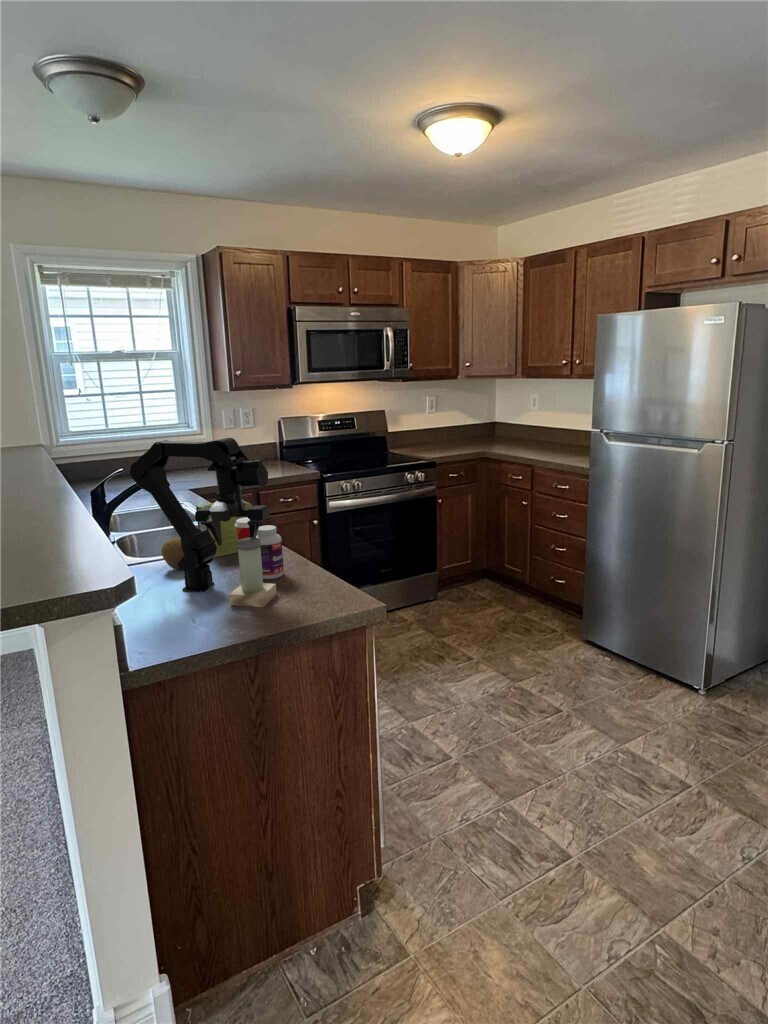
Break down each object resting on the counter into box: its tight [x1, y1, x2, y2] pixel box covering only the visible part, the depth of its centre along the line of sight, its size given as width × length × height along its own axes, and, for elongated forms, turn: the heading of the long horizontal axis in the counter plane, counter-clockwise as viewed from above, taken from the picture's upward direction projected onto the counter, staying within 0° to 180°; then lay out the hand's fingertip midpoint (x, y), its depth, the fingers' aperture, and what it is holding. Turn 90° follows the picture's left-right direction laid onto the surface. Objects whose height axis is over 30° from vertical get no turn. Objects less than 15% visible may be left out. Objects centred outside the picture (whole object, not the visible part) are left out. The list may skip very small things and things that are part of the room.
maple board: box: [228, 582, 277, 608], centre depth 163 cm, size 9×9×3 cm
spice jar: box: [237, 537, 264, 593], centre depth 161 cm, size 6×6×13 cm
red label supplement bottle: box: [235, 518, 261, 540], centre depth 190 cm, size 8×8×14 cm
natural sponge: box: [160, 536, 184, 571], centre depth 188 cm, size 9×9×10 cm
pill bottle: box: [256, 525, 285, 580], centre depth 179 cm, size 8×8×14 cm
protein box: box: [195, 499, 253, 559], centre depth 205 cm, size 10×15×16 cm
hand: (236, 545), depth 166 cm, fingers open, 9 cm apart
